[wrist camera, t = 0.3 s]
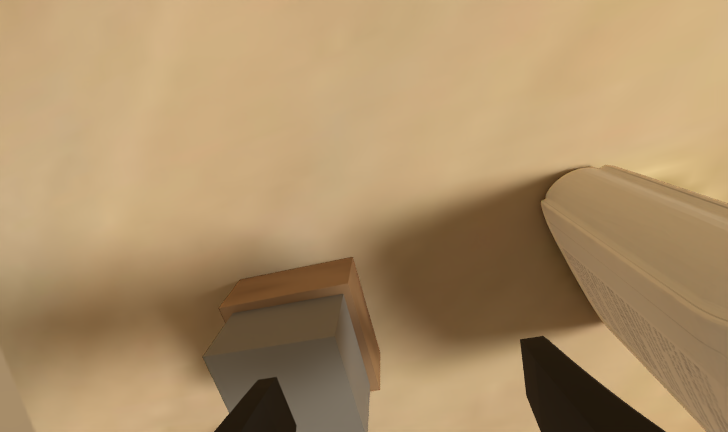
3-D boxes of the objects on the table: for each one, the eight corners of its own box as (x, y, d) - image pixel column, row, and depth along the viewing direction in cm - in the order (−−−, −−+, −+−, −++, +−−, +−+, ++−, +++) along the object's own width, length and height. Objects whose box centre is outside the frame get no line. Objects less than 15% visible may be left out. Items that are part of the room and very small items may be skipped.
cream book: (675, 298, 20) (1101, 601, 8) (601, 331, 21) (884, 644, 9) (604, 147, 17) (1086, 271, 5) (524, 194, 18) (781, 383, 6)
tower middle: (370, 385, 19) (367, 439, 16) (269, 398, 20) (248, 453, 17) (343, 293, 17) (334, 336, 14) (233, 312, 18) (202, 356, 15)
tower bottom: (380, 349, 22) (380, 389, 19) (278, 366, 23) (263, 407, 20) (353, 254, 20) (348, 283, 17) (242, 276, 21) (218, 308, 18)
